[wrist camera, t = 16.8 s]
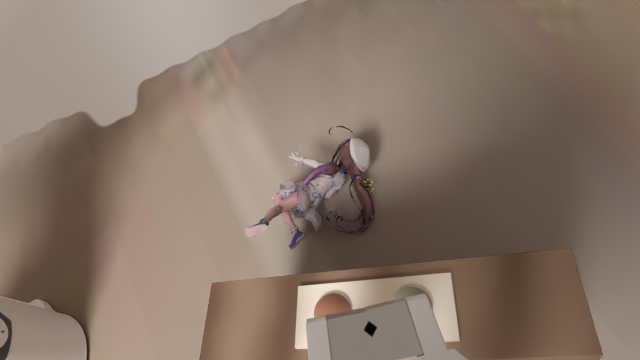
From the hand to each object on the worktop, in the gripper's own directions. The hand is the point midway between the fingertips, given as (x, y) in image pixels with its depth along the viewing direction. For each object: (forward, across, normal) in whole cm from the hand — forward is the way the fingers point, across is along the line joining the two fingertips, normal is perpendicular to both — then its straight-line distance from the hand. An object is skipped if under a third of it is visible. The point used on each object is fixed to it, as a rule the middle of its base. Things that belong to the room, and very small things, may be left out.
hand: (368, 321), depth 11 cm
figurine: (+33, +2, +22) cm, 39 cm away
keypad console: (+16, -2, +27) cm, 31 cm away
